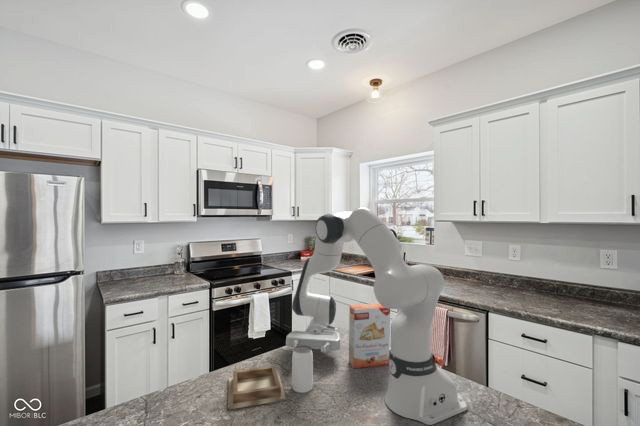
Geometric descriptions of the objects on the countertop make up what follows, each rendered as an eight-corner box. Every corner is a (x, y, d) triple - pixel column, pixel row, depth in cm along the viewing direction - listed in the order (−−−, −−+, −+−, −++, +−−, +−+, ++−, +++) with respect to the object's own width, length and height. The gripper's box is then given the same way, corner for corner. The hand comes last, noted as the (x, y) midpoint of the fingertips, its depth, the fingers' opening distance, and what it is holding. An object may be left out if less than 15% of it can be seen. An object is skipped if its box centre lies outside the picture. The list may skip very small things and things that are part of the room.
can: (310, 395, 89) (310, 354, 89) (289, 392, 90) (289, 352, 90) (314, 383, 95) (315, 345, 95) (295, 381, 96) (295, 343, 97)
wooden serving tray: (278, 372, 102) (278, 363, 102) (285, 400, 86) (285, 389, 86) (229, 379, 97) (229, 369, 97) (228, 409, 82) (228, 398, 82)
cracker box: (353, 369, 104) (354, 309, 105) (348, 361, 110) (348, 304, 111) (390, 365, 107) (390, 307, 108) (383, 357, 113) (383, 302, 114)
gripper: (290, 324, 120) (281, 338, 106) (341, 328, 116) (338, 342, 103) (290, 340, 119) (280, 356, 106) (341, 344, 116) (338, 360, 103)
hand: (309, 349), depth 104 cm, fingers open, 8 cm apart
